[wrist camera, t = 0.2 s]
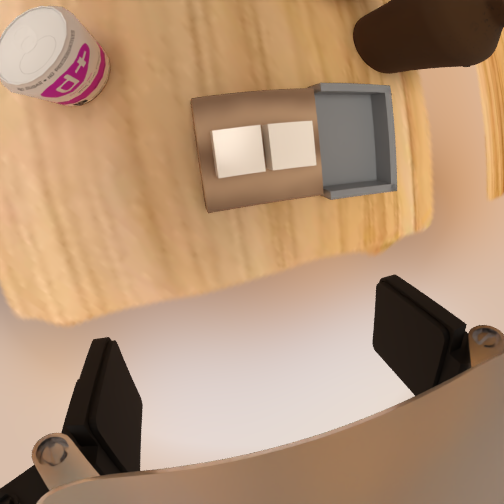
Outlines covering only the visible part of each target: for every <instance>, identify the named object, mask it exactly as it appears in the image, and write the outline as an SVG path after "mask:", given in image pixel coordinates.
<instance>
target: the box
mask: <svg viewBox="0 0 504 504" xmlns="http://www.w3.org/2000/svg"><path fill="white" fill-rule="evenodd" d="M308 88H314V96H315V105H316V113H317V123H318V132H319V143H320V154H321V166H322V179H323V193H324V195H321V196H324V197H326V198H328V199H331V200H332V199H339V198H346V197H354V196H361V195H368V194H376V193H384V192H391V191H397V168H396V146H395V131H394V118H393V107H392V98H391V89H390V86H387V85H373V84H351V83H319V84H316V85H313V86H311V87H308Z"/></svg>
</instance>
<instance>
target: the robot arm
mask: <svg viewBox="0 0 504 504" xmlns="http://www.w3.org/2000/svg"><path fill="white" fill-rule="evenodd" d="M465 328H466V324H465V323H464V322H462V321H461V320H460V319H458V318H457V317H456V316H454V315H453V314H452V313H450V312H449V311H447V310H446V309H445V308H443V307H442V306H440V305H439V304H438V303H436V302H435V301H433V300H432V299H430V298H429V297H428V296H426V295H425V294H423V293H422V292H420V291H419V290H418V289H416V288H415V287H413V286H412V285H410V284H409V283H407V282H406V281H404V280H403V279H401V278H400V277H398V276H397V275H391V276H388V277H384V278H381V279H380V282H379V283H378V284H377V286H376V302H375V318H374V331H373V347H374V350H375V351H376V352H377V353H378V354H379V355H380V357H381V358H382V359H383V360H384V361H385V362H386V363H387V364H388V366H389V367H390V368H391V369H392V370H393V371H394V372H395V373H396V374H397V376H398V377H399V378H400V379H401V380H402V381H403V382H404V384H405V385H406V386H407V387H408V388H409V389H410V390H411V391H412V393H413V394H414V395H415V397H412V398H411V399H408V400H406V401H404V402H402V403H399V404H397V405H395V406H393V407H390V408H388V409H386V410H383V411H381V412H378V413H376V414H374V415H371V416H369V417H366V418H364V419H361V420H359V421H356V422H354V423H350V424H348V425H345V426H342V427H339V428H337V429H334V430H331V431H328V432H325V433H322V434H319V435H316V436H313V437H309V438H306V439H303V440H300V441H296V442H293V443H289V444H286V445H282V446H278V447H275V448H271V449H267V450H263V451H259V452H254V453H250V454H246V455H241V456H237V457H232V458H227V459H222V460H216V461H211V462H205V463H199V464H192V465H186V466H179V467H172V468H165V469H157V470H146V471H140V449H141V424H142V400H141V397H140V395H139V393H138V391H137V388H136V386H135V384H134V382H133V380H132V377H131V375H130V373H129V370H128V368H127V366H126V363H125V361H124V359H123V356H122V354H121V352H120V349H119V346H118V344H117V342H116V341H115V340H114V341H111V339H110V338H109V337H107V338H100V339H94V340H93V341H92V344H91V346H90V349H89V352H88V355H87V358H86V360H85V364H84V366H83V369H82V372H81V375H80V379H78V380H77V382H76V385H75V388H74V392H73V395H72V398H71V401H70V404H69V408H68V412H67V415H66V418H65V422H64V425H63V429H62V433H52V434H48V435H46V436H44V437H42V438H41V439H40V440H38V442H37V443H36V444H35V446H34V448H33V450H32V460H33V463H34V465H33V466H32V467H31V468H29V469H28V470H26V471H25V472H24V473H22V474H21V475H19V476H18V477H16V478H15V479H14V480H12V481H11V482H9V483H8V484H6V485H5V486H4V487H2V488H0V504H504V334H503V333H502V332H501V331H500V330H498V329H496V328H494V327H491V326H487V325H479V326H476V327H473V328H472V329H471V330H470V331H469V333H467V332H466V331H465Z"/></svg>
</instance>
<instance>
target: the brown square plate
mask: <svg viewBox="0 0 504 504" xmlns="http://www.w3.org/2000/svg"><path fill="white" fill-rule="evenodd" d="M191 108H192V115H193V123H194V130H195V137H196V145H197V152H198V159H199V166H200V172H201V179H202V186H203V192H204V199H205V205H206V209H207V212H208V213H211V212H217V211H223V210H228V209H234V208H240V207H246V206H252V205H258V204H265V203H271V202H277V201H284V200H290V199H297V198H304V197H311V196H318V195H324V193H323V179H322V166H321V154H320V143H319V132H318V123H317V113H316V105H315V96H314V88H304V89H279V90H263V91H251V92H240V93H230V94H221V95H213V96H205V97H198V98H192V99H191ZM299 121H312V123H313V133H314V143H315V154H316V165H315V166H306V167H297V168H289V169H281V170H270V169H267V164H266V155H265V147H264V138H263V130H262V125H265V124H274V123H286V122H299ZM254 125H260V127H261V135H262V143H263V152H264V161H265V169H266V172H258V173H251V174H244V175H238V176H231V177H225V178H218V177H217V176H216V172H215V165H214V158H213V150H212V143H211V136H210V131H214V130H221V129H229V128H237V127H245V126H254Z"/></svg>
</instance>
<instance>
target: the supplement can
mask: <svg viewBox="0 0 504 504" xmlns="http://www.w3.org/2000/svg"><path fill="white" fill-rule="evenodd" d="M109 72H110V64H109V58H108V56H107V54H106V53H105V51H104V49H103V48H102V47H101V46H100V45H99V43H98V42H97V41H96V40H95V39H94V38H93V36H92V35H91V34H90V33H89V32H88V31H87V29H86V28H85V27H84V26H83V25H82V24H81V23H80V21H79V20H78V19H77V18H76V17H75V16H74V14H73V13H71V12H70V11H68V10H67V9H65V8H63V7H58V6H40V7H36V8H32V9H29V10H27V11H26V12H24V13H22V14H21V15H19V16H18V17H16V18H15V19H14V20H13V21H12V22H11V23H10V24H9V25H8V27H7V28H6V29H5V31H4V32H3V34H2V36H1V37H0V80H1V82H2V84H3V85H4V86H5V87H6V88H7V89H8V90H10V91H11V92H14V93H18V94H22V95H26V96H31V97H35V98H39V99H43V100H46V101H50V102H54V103H58V104H62V105H66V106H70V107H72V106H79V105H83V104H85V103H87V102H89V101H91V100H92V99H93V98H94V97H96V96H97V95H98V94H99V93H100V92H101V91H102V89H103V87H104V86H105V84H106V82H107V80H108V76H109Z"/></svg>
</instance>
